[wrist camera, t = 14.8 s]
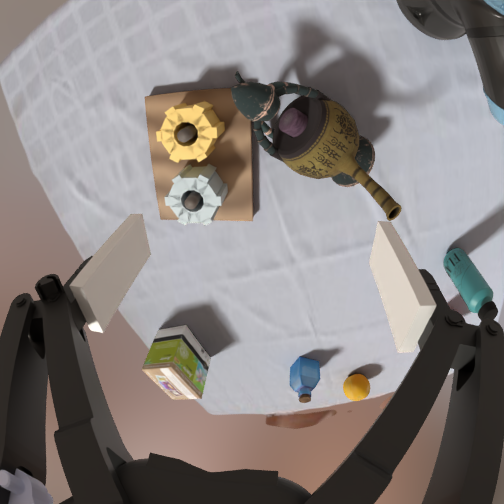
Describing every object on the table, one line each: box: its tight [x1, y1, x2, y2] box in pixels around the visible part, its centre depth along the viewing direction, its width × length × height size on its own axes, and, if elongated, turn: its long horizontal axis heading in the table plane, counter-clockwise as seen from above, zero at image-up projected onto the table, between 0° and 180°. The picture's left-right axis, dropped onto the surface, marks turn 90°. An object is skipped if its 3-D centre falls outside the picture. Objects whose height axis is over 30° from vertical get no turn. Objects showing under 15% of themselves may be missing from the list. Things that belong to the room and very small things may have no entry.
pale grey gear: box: [165, 164, 228, 226], centre depth 49 cm, size 10×9×6 cm
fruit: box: [343, 374, 370, 401], centre depth 79 cm, size 9×8×8 cm
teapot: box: [231, 71, 401, 221], centre depth 35 cm, size 12×25×23 cm
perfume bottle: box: [290, 357, 320, 403], centre depth 75 cm, size 6×6×12 cm
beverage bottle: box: [444, 248, 498, 321], centre depth 48 cm, size 6×7×20 cm
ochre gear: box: [156, 101, 225, 163], centre depth 43 cm, size 10×9×6 cm
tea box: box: [142, 325, 211, 400], centre depth 74 cm, size 15×10×15 cm, turn 22°
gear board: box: [145, 88, 253, 221], centre depth 47 cm, size 24×18×9 cm
